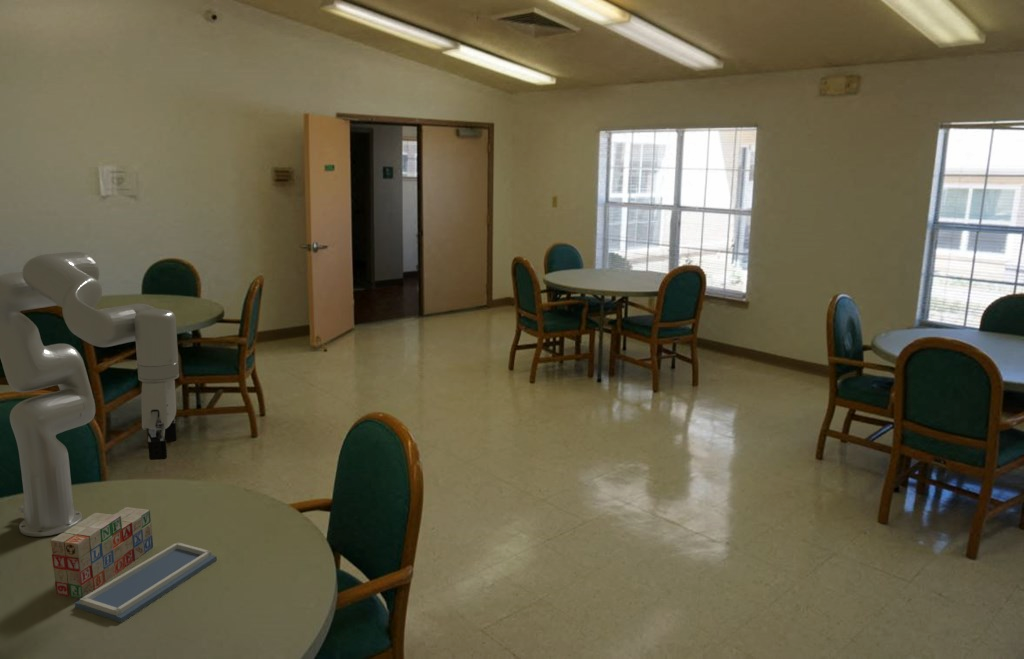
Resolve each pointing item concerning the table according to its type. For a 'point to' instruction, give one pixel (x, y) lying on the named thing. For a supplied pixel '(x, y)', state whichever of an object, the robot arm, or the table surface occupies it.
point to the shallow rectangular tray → (146, 582)
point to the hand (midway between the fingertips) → (163, 449)
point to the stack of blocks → (99, 549)
